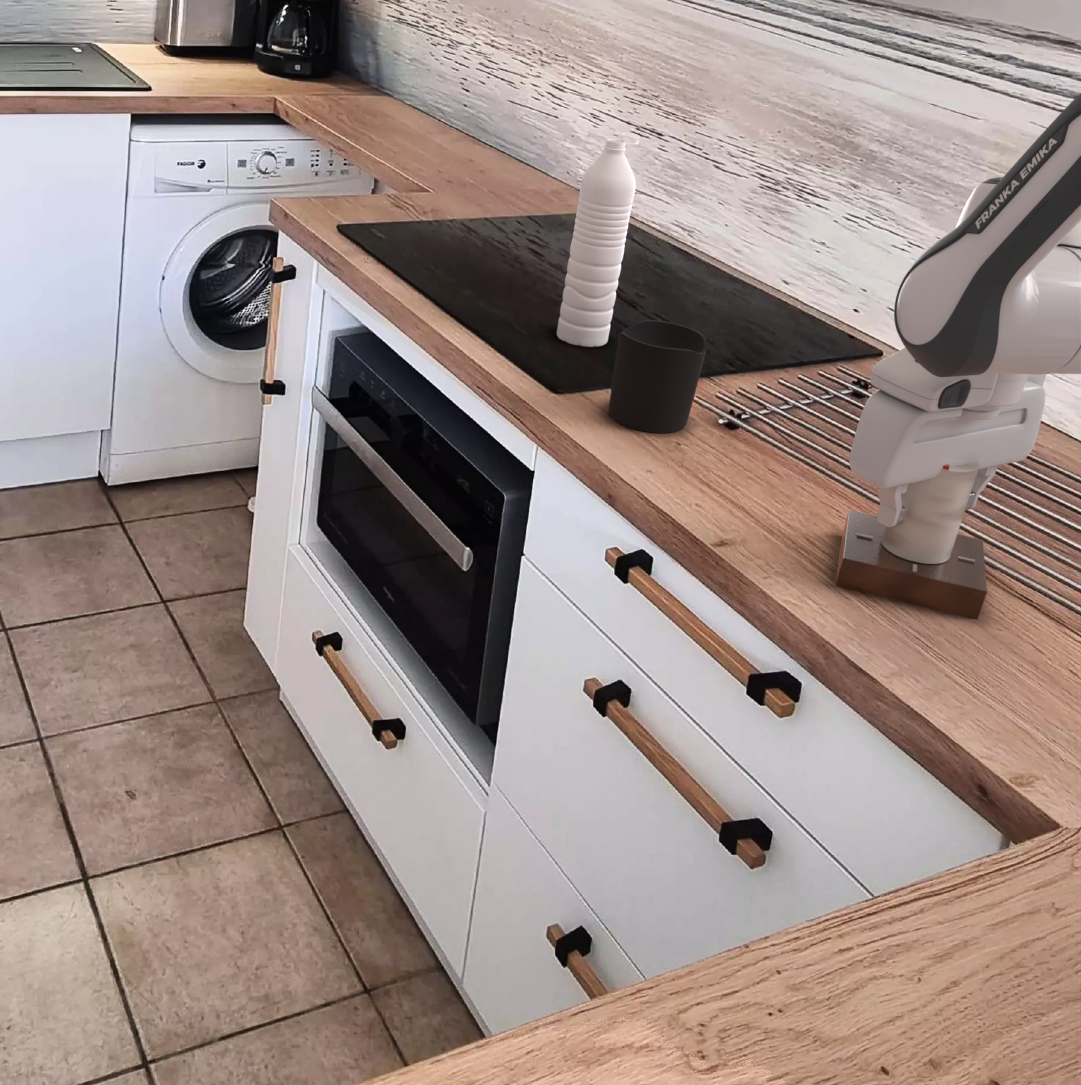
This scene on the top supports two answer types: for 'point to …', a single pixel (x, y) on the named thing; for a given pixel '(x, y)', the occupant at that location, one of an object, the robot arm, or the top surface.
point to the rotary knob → (932, 516)
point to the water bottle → (598, 246)
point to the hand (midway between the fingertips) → (925, 515)
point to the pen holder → (656, 375)
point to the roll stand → (911, 570)
